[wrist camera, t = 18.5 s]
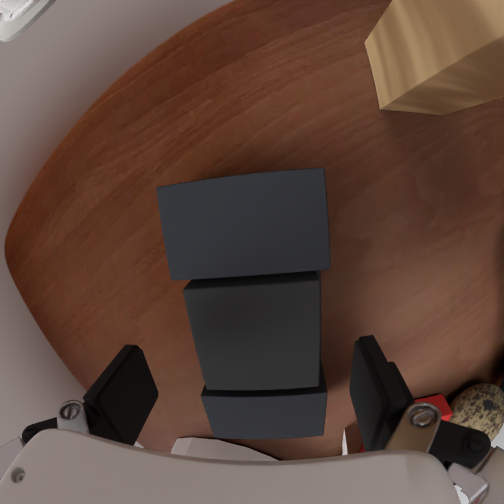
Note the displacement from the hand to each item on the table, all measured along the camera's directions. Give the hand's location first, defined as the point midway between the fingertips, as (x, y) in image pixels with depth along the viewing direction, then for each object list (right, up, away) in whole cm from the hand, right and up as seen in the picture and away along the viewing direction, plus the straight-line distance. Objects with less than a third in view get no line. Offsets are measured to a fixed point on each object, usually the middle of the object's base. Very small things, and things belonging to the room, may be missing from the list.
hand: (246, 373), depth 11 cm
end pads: (+1, +1, +7) cm, 7 cm away
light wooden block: (+10, +16, +2) cm, 19 cm away
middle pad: (+1, +1, +6) cm, 6 cm away
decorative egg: (+22, -7, +3) cm, 23 cm away
